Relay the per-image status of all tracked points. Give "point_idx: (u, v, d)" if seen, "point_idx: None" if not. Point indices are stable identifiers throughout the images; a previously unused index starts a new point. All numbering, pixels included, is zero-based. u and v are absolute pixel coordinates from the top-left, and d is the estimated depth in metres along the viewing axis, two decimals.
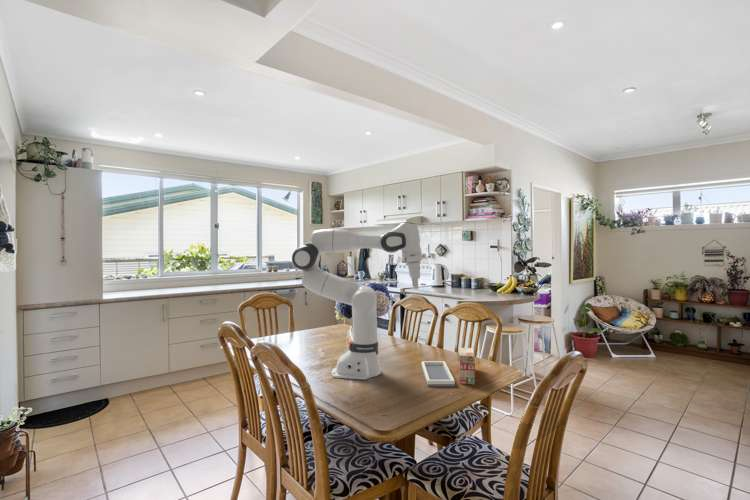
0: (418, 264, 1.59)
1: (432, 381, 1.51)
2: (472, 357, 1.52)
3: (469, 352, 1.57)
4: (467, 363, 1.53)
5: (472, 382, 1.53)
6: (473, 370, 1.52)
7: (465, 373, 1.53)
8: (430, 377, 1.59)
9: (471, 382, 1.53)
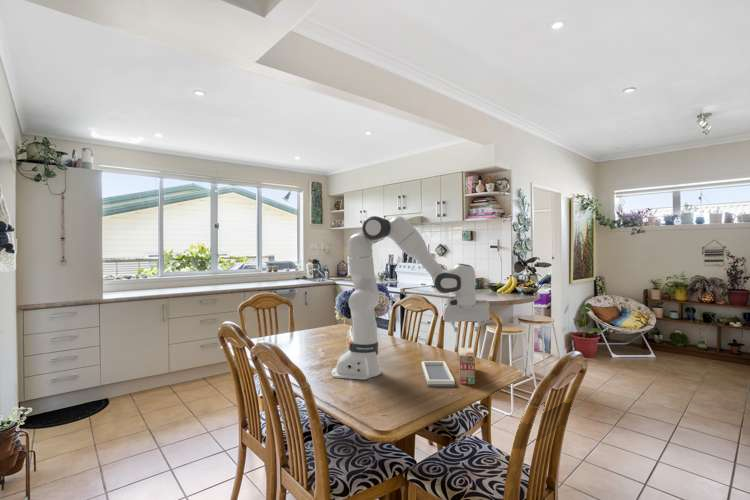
0: (445, 308, 1.62)
1: (432, 381, 1.51)
2: (472, 357, 1.53)
3: (469, 352, 1.57)
4: (467, 363, 1.53)
5: (472, 382, 1.53)
6: (473, 370, 1.53)
7: (465, 373, 1.53)
8: (430, 377, 1.59)
9: (471, 382, 1.53)
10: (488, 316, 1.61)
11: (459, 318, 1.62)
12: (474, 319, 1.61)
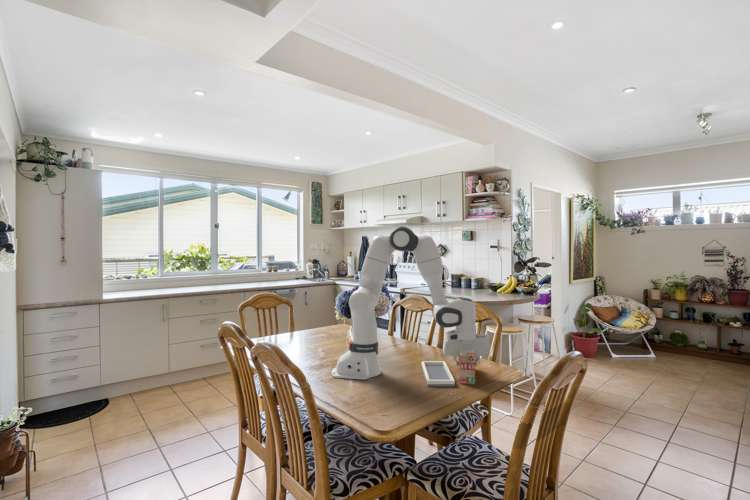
0: (445, 342, 1.62)
1: (432, 381, 1.51)
2: (472, 357, 1.53)
3: (469, 352, 1.57)
4: (468, 362, 1.53)
5: (472, 381, 1.53)
6: (473, 369, 1.53)
7: (465, 372, 1.53)
8: (430, 377, 1.59)
9: (471, 381, 1.53)
10: (488, 351, 1.61)
11: (459, 353, 1.62)
12: None
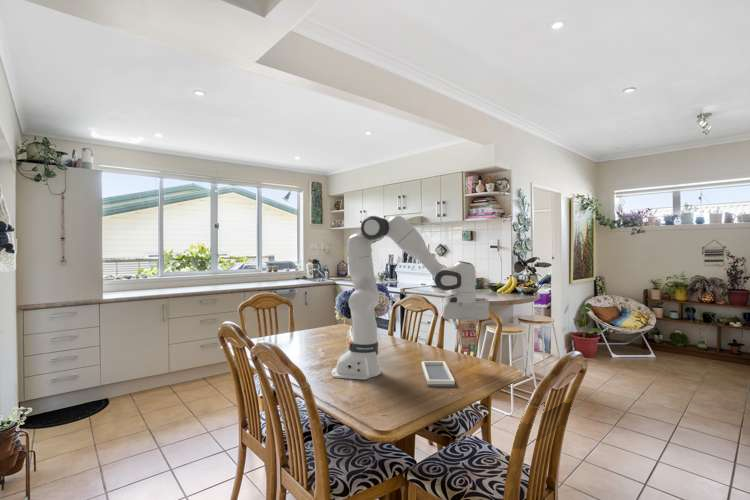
0: (445, 305, 1.62)
1: (432, 381, 1.51)
2: (473, 324, 1.53)
3: (469, 320, 1.57)
4: (469, 330, 1.53)
5: (474, 349, 1.53)
6: (475, 337, 1.53)
7: (467, 340, 1.53)
8: (430, 377, 1.59)
9: (473, 349, 1.53)
10: (488, 314, 1.61)
11: (458, 316, 1.62)
12: (474, 317, 1.61)
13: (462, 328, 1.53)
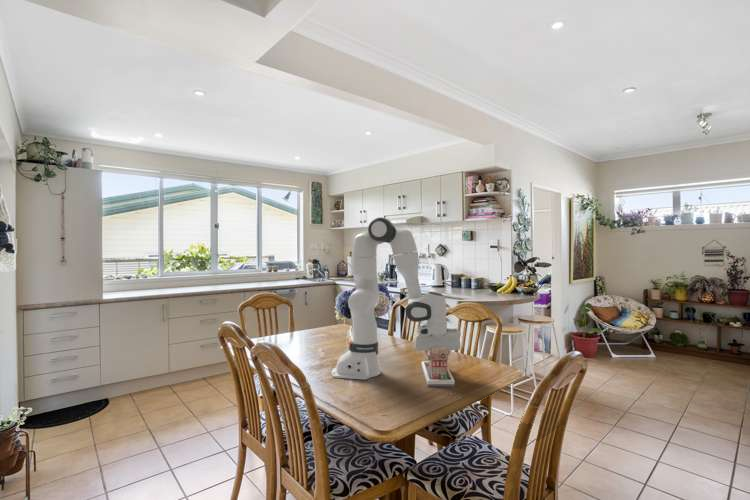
0: (416, 336, 1.62)
1: (432, 381, 1.51)
2: (444, 354, 1.53)
3: (441, 349, 1.58)
4: (440, 360, 1.53)
5: (444, 379, 1.54)
6: (445, 367, 1.53)
7: (437, 370, 1.54)
8: (430, 377, 1.59)
9: (443, 379, 1.54)
10: (459, 345, 1.62)
11: (429, 347, 1.62)
12: (445, 348, 1.62)
13: (433, 358, 1.54)
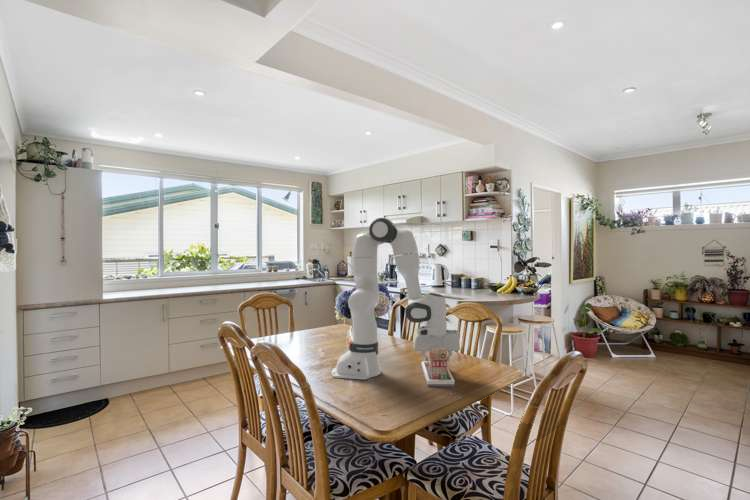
0: (416, 337, 1.62)
1: (432, 381, 1.51)
2: (444, 354, 1.53)
3: (441, 349, 1.58)
4: (440, 360, 1.54)
5: (444, 379, 1.54)
6: (445, 367, 1.54)
7: (437, 370, 1.54)
8: (430, 377, 1.59)
9: (443, 379, 1.54)
10: (458, 346, 1.62)
11: (429, 348, 1.62)
12: None
13: (433, 358, 1.54)
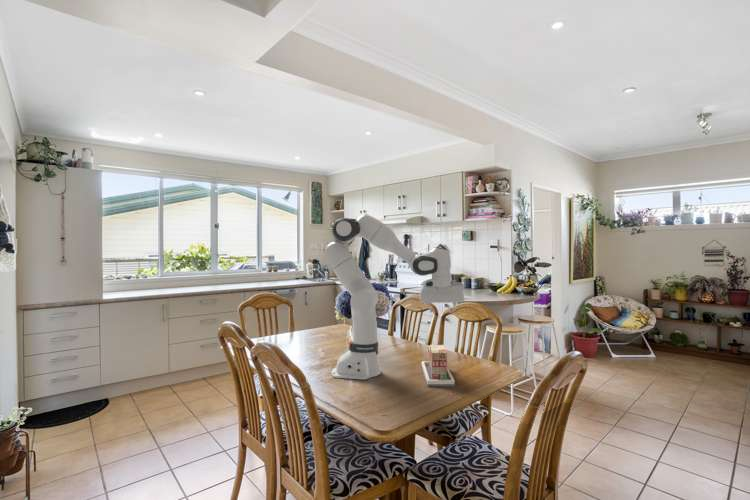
0: (421, 289, 1.70)
1: (432, 381, 1.51)
2: (444, 354, 1.54)
3: (441, 349, 1.58)
4: (439, 360, 1.54)
5: (444, 379, 1.54)
6: (445, 367, 1.54)
7: (437, 370, 1.54)
8: (430, 377, 1.59)
9: (443, 379, 1.54)
10: (462, 297, 1.69)
11: (434, 299, 1.69)
12: (449, 300, 1.69)
13: (433, 358, 1.54)
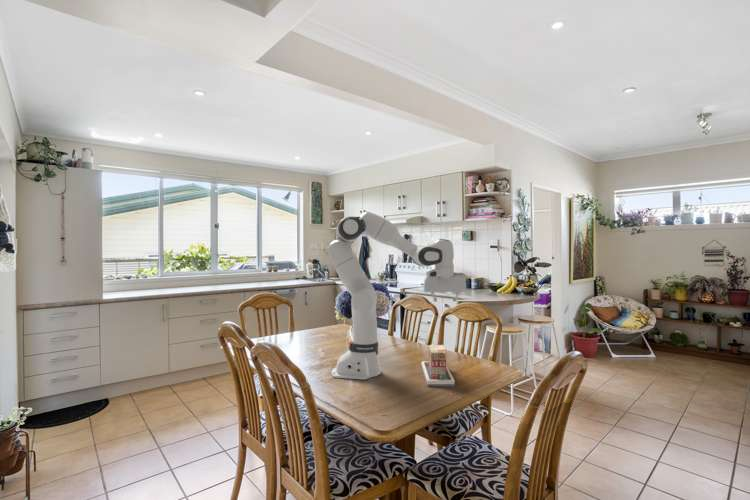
0: (425, 279, 1.76)
1: (432, 381, 1.51)
2: (443, 354, 1.54)
3: (440, 349, 1.58)
4: (439, 360, 1.54)
5: (443, 379, 1.54)
6: (444, 367, 1.54)
7: (436, 370, 1.54)
8: (430, 377, 1.59)
9: (442, 379, 1.54)
10: (465, 287, 1.75)
11: (438, 289, 1.76)
12: (452, 290, 1.76)
13: (432, 358, 1.54)
